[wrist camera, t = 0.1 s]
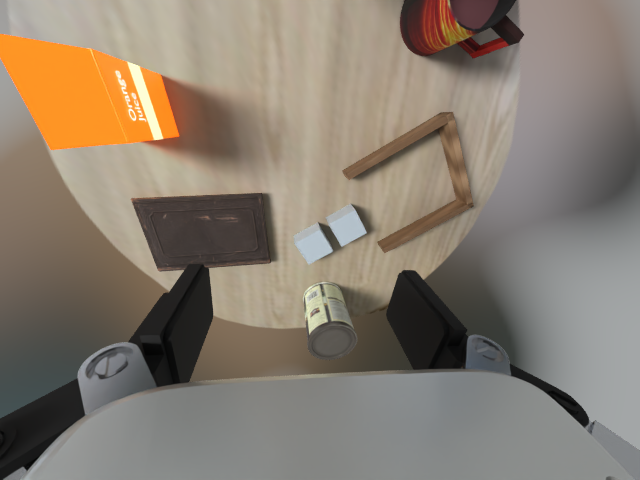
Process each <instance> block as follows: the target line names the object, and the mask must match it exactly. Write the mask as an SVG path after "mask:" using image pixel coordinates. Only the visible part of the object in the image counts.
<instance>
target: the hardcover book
mask: <svg viewBox="0 0 640 480" xmlns="http://www.w3.org/2000/svg"><path fill="white" fill-rule="evenodd" d="M131 201H132V203H133V206H134V208H135V211H136V214H137V216H138V219H139V222H140V224H141V227H142V229H143V232H144V235H145V237H146V240H147V242H148V245H149V248H150V250H151V253H152V255H153V258H154V261H155V263H156V266H157V269H158V271H173V270H185V269H186V267H187V266H188V265H189V264H204V266H205V267H208V268H213V267H226V266H239V265H253V264H266V263H270V262H271V259H270V256H269V248H268V240H267V232H266V223H265V215H264V207H263V199H262V193H252V194H227V195H203V196H179V197H155V198H132V199H131Z"/></svg>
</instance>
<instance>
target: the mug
mask: <svg viewBox="0 0 640 480" xmlns="http://www.w3.org/2000/svg"><path fill="white" fill-rule="evenodd" d="M515 1H516V0H405V1H404V4H403V7H402V11H401V17H400V29H401V34H402V38H403V40H404V43H405V44H406V46H407V47H408V49H409V50H411V51H412V52H413V53H415V54H417V55H421V56H428V55H431V54H434V53H436V52H438V51H441V50H443V49H445V48H447V47H449V46H451V45H454V44H456V43H457V44H458V45H459V46H460V47H462V48H463V49H464V50H465V51H466V52H467V53H469V55H470V56H471V57H472V58H476V57H479V56H482V55H485V54H488V53H490V52H492V51H495V50H498V49H501V48H503V47H506V46H509V45H512V44H515V43H518V42H519V41H520V40H521V39H522V37H523V36H524V34H523V32H522V31H521V30H520V29H519V28H518V27H517V26H516V25H515V24H514V23H513V22H512V21H511V20H510V19H509V18H508V17H507V16H506V14H507V13H508V12H509V10H510V9H511V7H512V6H513V5H514V3H515ZM490 27H491V28H492V29H493V30H494V31H495V32H496V33H497V34H498V35H499V36H500V37H501V38H498V39H496V40H493V41H490V42H488V43H485V44H483V45H479V44H478V43H477V42H475V41H474V40H473V39H472V38H471V36H473V35H475V34H478V33H480V32H482V31H484V30H486V29H488V28H490Z"/></svg>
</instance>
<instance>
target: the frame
mask: <svg viewBox="0 0 640 480" xmlns="http://www.w3.org/2000/svg"><path fill="white" fill-rule="evenodd" d="M436 129H439V133H440V137H441V141H442V145H443V149H444V152H445V156H446V160H447V164H448V168H449V172H450V176H451V180H452V184H453V187H454V191H455V195H456V199H457V200H455V201H453V202H451V203H449V204H447V205H445V206H443V207H442V208H440V209H438V210H436V211H434V212H432V213H430V214H429V215H427V216H425V217H423V218H421V219H419V220H417V221H416V222H414V223H412V224H410V225H408V226H406V227H404V228H402V229H401V230H399V231H397V232H395V233H393V234H391V235H389V236H388V237H386V238H384V239H382V240H380V241H378V245H379V246H380V248H381V249H382V250H383V252H384V253H386V252H388V251H390V250H392V249H394V248H396V247H397V246H399V245H401V244H403V243H405V242H407V241H409V240H411V239H413V238H414V237H416V236H418V235H420V234H422V233H424V232H426V231H428V230H430V229H432V228H433V227H435V226H437V225H439V224H441V223H443V222H445V221H447V220H449V219H450V218H452V217H454V216H456V215H458V214H460V213H462V212H464V211H466V210H467V209H469V208H471V207H473V206H474V205H473V200H472V196H471V191H470V187H469V182H468V178H467V173H466V169H465V164H464V160H463V155H462V150H461V146H460V141H459V137H458V132H457V128H456V123H455V119H454V114H453V112H443V113H440V114H438V115H436V116H434V117H433V118H431V119H429V120H428V121H426V122H424V123H423V124H421V125H419V126H417V127H416V128H414V129H412V130H411V131H409V132H407V133H406V134H404V135H402V136H400V137H399V138H397V139H395V140H394V141H392V142H390V143H389V144H387V145H385V146H383V147H382V148H380V149H378V150H377V151H375V152H373V153H372V154H370V155H368V156H366V157H365V158H363V159H361V160H360V161H358V162H356V163H355V164H353V165H351V166H349V167H348V168H346V169H344V170H343V173H344V175H345V177H346V178H347V179H349V180H350V179H352V178H353V177H355V176H357V175H358V174H360V173H362V172H364V171H365V170H367V169H369V168H371V167H372V166H374V165H376V164H377V163H379V162H381V161H383V160H384V159H386V158H388V157H389V156H391V155H393V154H395V153H396V152H398V151H400V150H402V149H403V148H405V147H407V146H408V145H410V144H412V143H414V142H415V141H417V140H419V139H420V138H422V137H424V136H426V135H427V134H429V133H431V132H433V131H434V130H436Z"/></svg>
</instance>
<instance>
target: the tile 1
mask: <svg viewBox="0 0 640 480" xmlns="http://www.w3.org/2000/svg"><path fill="white" fill-rule="evenodd" d="M294 244H295V245H296V247H297V248H298V249H299V251H300V252H301V254H302V255H303V257H304V258H305V259H306V261H307V262H308V264H311V263H313V262H314V261H316V260H318V259H320V258H322V257H324V256H326V255H327V254H329V253H331V252H333V249H332V246H331V243H330V242H329V240H328V238H327V237H326V235H325V233H324V232H323V230H322V228H321V227H320V225H319V223H318V222H317V223H316V224H314V225H312V226H310V227H308V228H307V229H305V230H303V231H301V232H299V233H298V234H296V235H294Z"/></svg>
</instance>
